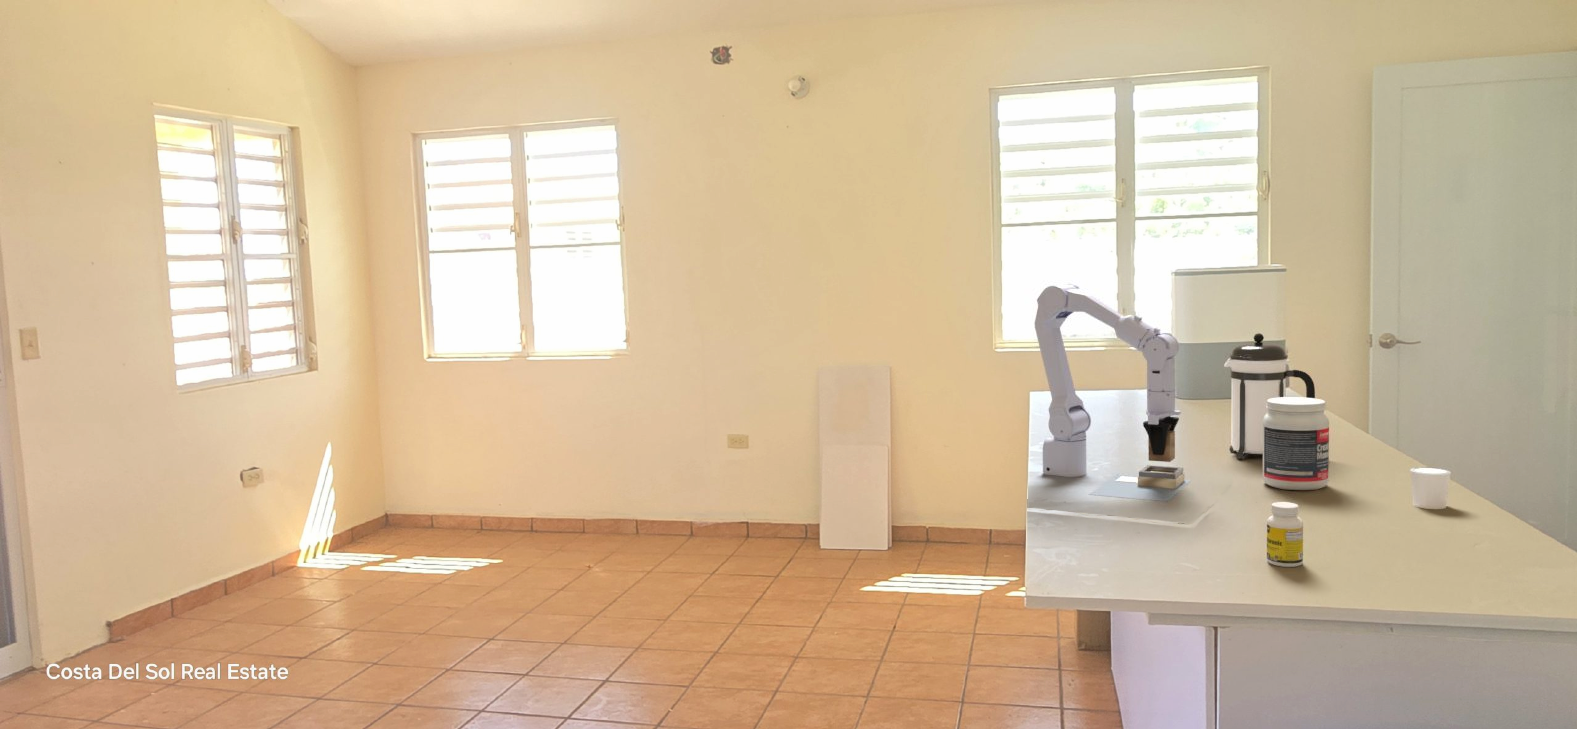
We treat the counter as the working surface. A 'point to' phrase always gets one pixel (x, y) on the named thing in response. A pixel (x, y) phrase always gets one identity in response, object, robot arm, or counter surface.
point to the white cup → (1430, 487)
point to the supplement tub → (1296, 443)
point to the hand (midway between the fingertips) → (1161, 452)
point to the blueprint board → (1135, 490)
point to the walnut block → (1169, 449)
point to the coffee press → (1257, 391)
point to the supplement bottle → (1285, 535)
